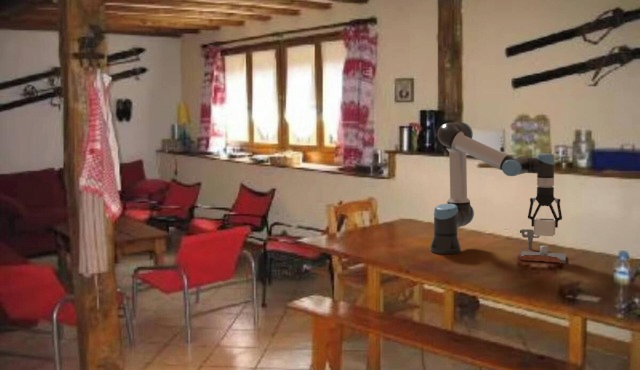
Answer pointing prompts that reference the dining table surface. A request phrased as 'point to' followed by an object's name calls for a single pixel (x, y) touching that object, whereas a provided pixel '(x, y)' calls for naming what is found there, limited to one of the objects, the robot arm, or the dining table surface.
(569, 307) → the dining table surface
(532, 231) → the mechanical component
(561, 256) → the board
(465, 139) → the robot arm
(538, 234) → the cream slotted box
